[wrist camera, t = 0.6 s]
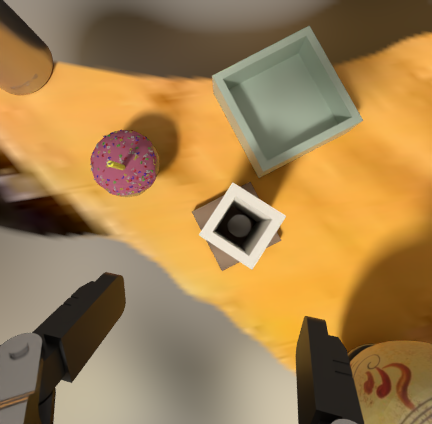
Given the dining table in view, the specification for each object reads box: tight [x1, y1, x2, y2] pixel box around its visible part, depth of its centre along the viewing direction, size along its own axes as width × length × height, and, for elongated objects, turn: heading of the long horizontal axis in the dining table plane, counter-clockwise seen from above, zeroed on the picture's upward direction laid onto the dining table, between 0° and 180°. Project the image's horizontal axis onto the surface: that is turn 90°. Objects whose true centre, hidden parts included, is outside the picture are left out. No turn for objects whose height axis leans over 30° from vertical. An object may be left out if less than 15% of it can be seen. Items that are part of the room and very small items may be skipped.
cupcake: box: [90, 130, 159, 197], centre depth 33 cm, size 9×8×12 cm
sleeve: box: [199, 183, 286, 269], centre depth 31 cm, size 6×6×12 cm
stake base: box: [192, 182, 281, 271], centre depth 33 cm, size 9×9×9 cm
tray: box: [212, 26, 363, 178], centre depth 37 cm, size 14×14×4 cm
